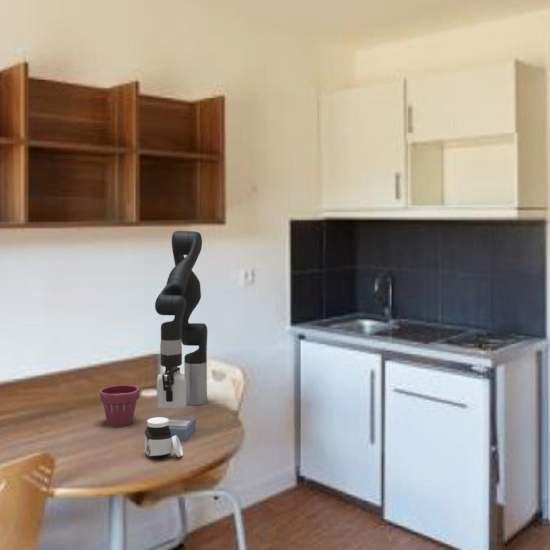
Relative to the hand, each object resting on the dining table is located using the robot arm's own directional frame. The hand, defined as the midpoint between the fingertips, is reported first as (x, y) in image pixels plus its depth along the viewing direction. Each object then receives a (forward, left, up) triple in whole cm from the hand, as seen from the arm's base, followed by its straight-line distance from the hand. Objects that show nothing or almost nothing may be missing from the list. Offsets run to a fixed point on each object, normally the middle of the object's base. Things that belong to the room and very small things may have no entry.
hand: (171, 399), depth 234 cm
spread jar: (+21, +4, -13) cm, 25 cm away
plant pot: (-10, -23, -13) cm, 28 cm away
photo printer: (0, 0, -3) cm, 3 cm away
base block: (0, 0, -13) cm, 13 cm away
